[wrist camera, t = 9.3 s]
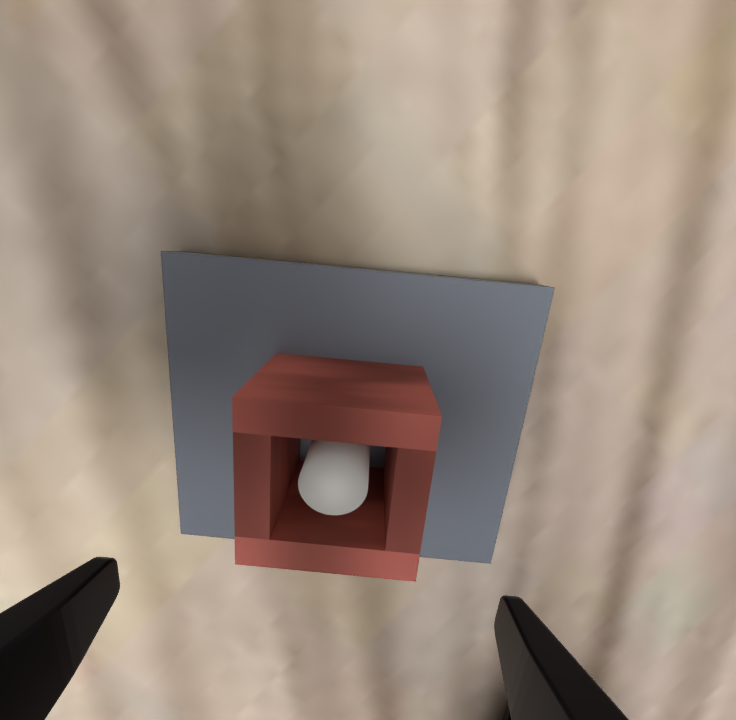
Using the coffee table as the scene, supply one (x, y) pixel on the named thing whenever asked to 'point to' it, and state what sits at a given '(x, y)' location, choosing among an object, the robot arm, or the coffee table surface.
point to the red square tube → (337, 424)
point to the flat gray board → (362, 343)
